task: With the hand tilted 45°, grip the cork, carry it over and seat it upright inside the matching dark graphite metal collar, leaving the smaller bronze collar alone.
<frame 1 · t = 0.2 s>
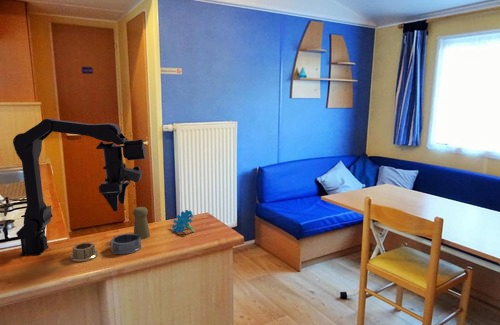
hand: (119, 207, 118), 14 cm above the countertop, tool pointing down, fingers open, 9 cm apart
fitting collar: (126, 248, 119), on the countertop
cork: (141, 236, 130), on the countertop
gear: (183, 231, 136), on the countertop
small collar: (84, 256, 113), on the countertop
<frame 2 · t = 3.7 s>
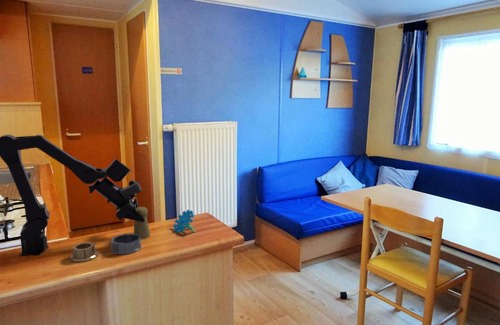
hand: (144, 218, 129), 7 cm above the countertop, tool tilted 45°, fingers closed on cork, 5 cm apart
cork: (141, 236, 130), on the countertop, touching gripper
everything else where it was.
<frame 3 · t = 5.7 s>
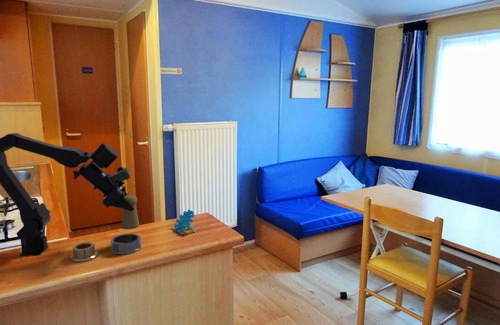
hand: (133, 207, 121), 13 cm above the countertop, tool tilted 45°, fingers closed on cork, 5 cm apart
cork: (130, 226, 122), point 6 cm above the countertop, touching gripper
everything else where it was.
when the fingers open (9 cm above the countertop, at t = 7.5 s): cork drops 1 cm, resting on fitting collar.
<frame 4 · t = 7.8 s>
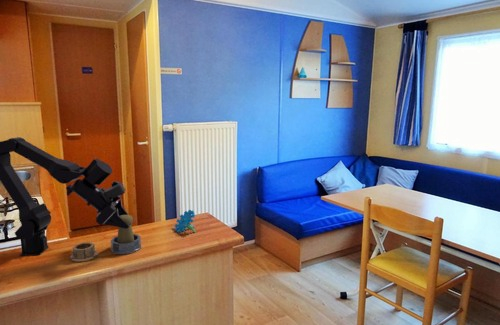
hand: (129, 223, 118), 9 cm above the countertop, tool tilted 45°, fingers open, 8 cm apart
cork: (126, 247, 119), resting on fitting collar
everything else where it was.
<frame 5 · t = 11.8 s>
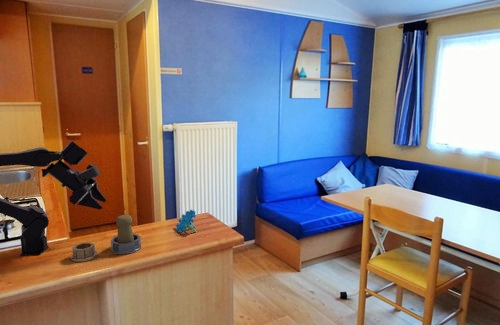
hand: (103, 204, 123), 14 cm above the countertop, tool tilted 45°, fingers open, 9 cm apart
at the end: cork 0.1 cm off-centre on the fitting collar, point 0.4 cm above the fitting collar's base; cork tilted 0°; the gripper is holding nothing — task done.
